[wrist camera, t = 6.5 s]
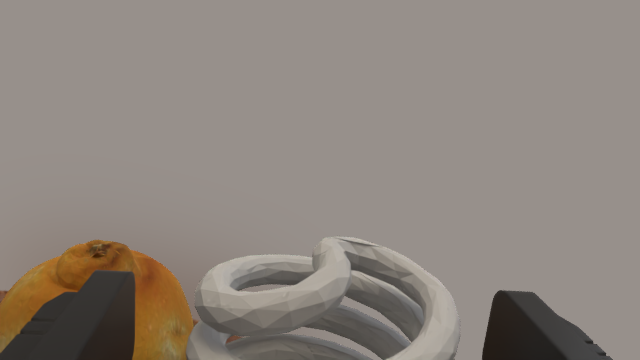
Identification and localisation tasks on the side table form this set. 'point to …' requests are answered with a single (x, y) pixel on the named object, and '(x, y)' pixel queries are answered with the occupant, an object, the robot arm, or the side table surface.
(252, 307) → the light bulb
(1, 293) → the side table surface
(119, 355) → the robot arm
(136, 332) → the fruit
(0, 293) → the side table surface
